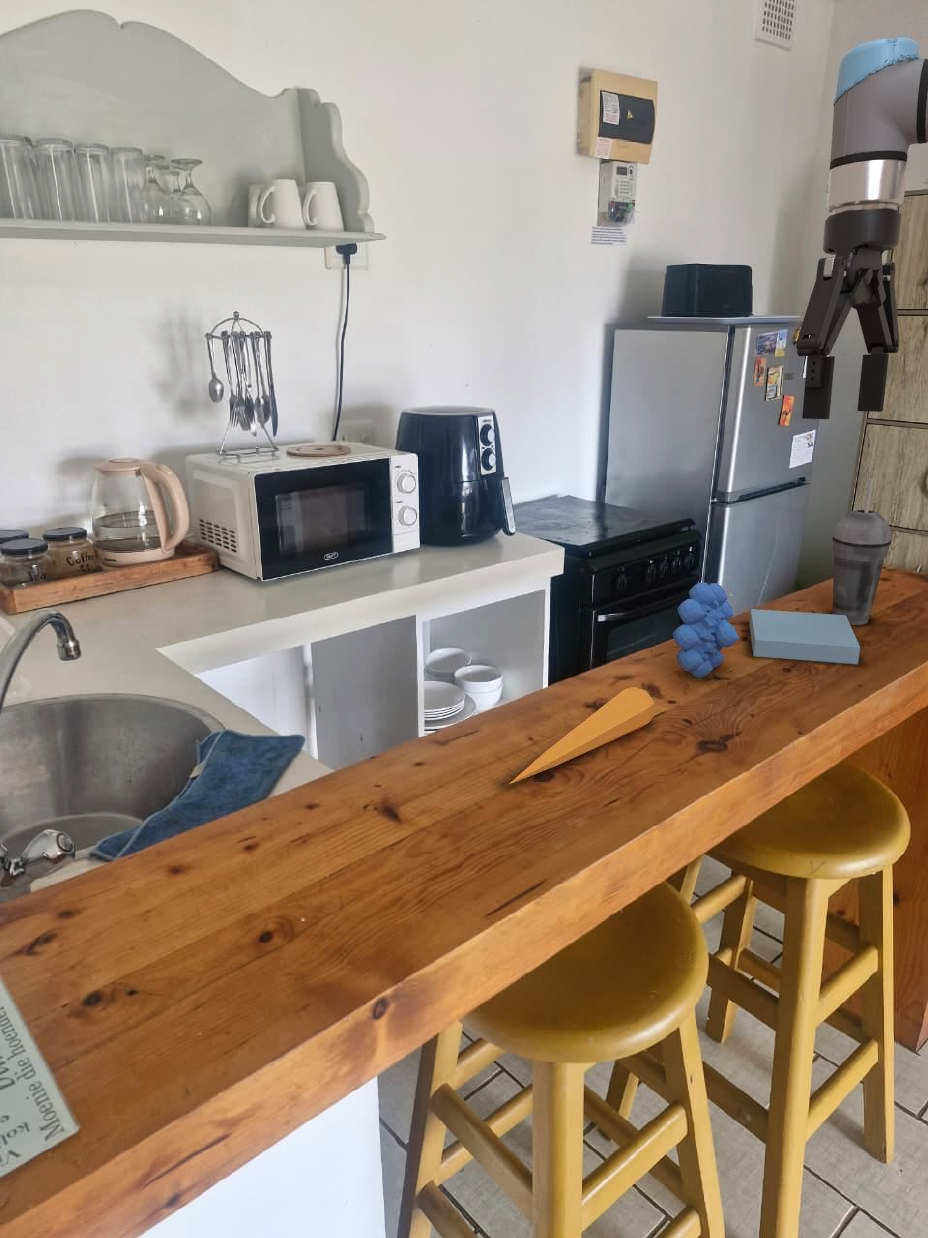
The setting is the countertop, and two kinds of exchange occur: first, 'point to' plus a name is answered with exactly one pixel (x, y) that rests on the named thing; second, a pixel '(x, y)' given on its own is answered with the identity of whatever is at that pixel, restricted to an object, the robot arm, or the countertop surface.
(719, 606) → the grapes
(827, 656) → the foam pad
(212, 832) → the countertop surface
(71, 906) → the countertop surface
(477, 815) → the countertop surface
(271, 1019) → the countertop surface
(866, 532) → the beverage cup
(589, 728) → the carrot
